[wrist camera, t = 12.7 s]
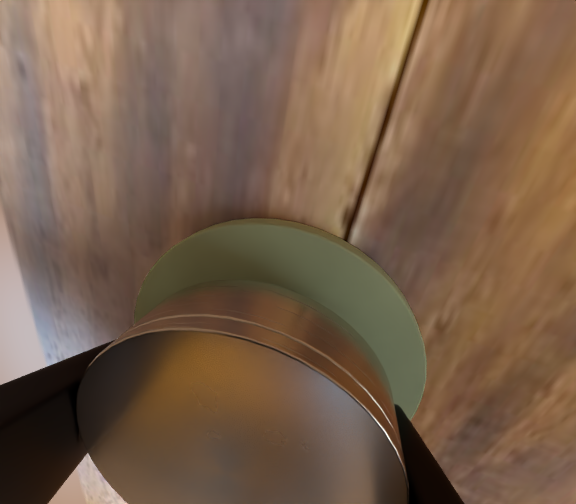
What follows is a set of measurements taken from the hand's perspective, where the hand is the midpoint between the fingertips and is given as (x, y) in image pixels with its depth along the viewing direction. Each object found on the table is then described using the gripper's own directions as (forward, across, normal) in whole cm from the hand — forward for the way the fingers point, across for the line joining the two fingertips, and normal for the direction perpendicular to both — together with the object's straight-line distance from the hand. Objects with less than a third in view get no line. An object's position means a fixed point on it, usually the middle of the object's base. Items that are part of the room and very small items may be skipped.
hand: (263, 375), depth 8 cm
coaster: (+1, 0, 0) cm, 1 cm away
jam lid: (-2, 0, 0) cm, 2 cm away
